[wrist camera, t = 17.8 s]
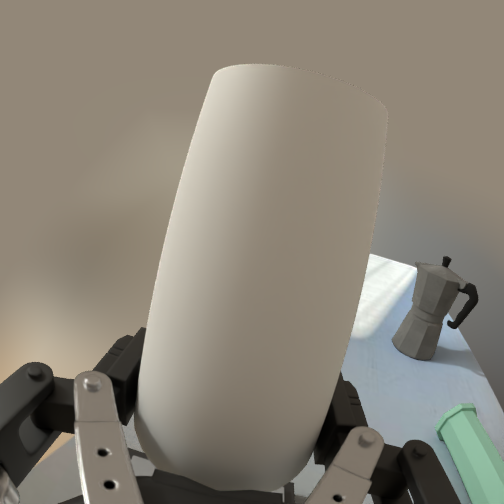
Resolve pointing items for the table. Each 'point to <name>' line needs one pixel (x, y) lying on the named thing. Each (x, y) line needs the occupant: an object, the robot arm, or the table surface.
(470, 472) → the container
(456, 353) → the table surface
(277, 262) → the champagne flute
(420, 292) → the coffeepot
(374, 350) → the table surface
